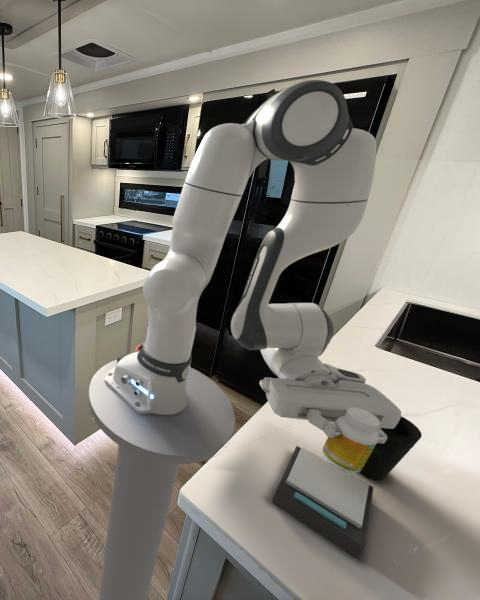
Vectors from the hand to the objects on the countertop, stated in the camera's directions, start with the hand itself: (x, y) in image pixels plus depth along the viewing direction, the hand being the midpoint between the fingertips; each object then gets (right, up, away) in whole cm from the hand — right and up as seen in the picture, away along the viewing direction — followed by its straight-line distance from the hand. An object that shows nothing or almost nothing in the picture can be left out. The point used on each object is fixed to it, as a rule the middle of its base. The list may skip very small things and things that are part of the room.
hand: (358, 437), depth 49 cm
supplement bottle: (0, -5, +3) cm, 6 cm away
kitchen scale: (-1, -14, +6) cm, 15 cm away
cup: (+13, -12, +13) cm, 22 cm away
